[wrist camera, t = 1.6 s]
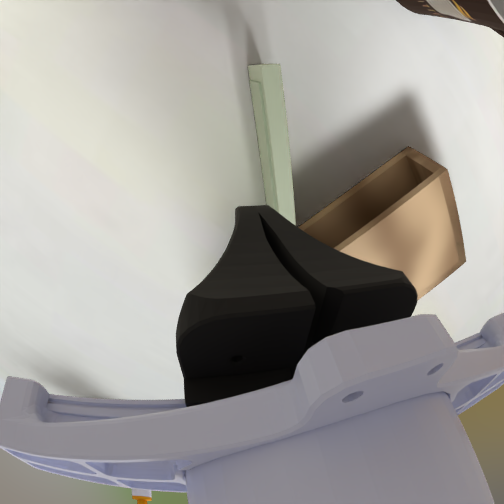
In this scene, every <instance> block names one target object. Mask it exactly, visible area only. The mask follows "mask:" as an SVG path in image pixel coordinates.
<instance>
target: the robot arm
mask: <svg viewBox="0 0 504 504" xmlns="http://www.w3.org/2000/svg"><path fill="white" fill-rule="evenodd" d="M417 297H418V294H417V291H416V289H415V287H414V286H413V285H412V283H411V282H410V280H409V279H408V278H407V276H406V275H405V274H404V273H403V271H399V270H395V269H391V268H387V267H383V266H379V265H375V264H372V263H369V262H366V261H363V260H360V259H357V258H355V257H352V256H350V255H347V254H345V253H343V252H340V251H338V250H336V249H334V248H332V247H330V246H328V245H326V244H324V243H322V242H320V241H318V240H317V239H315V238H313V237H312V236H310V235H309V234H307V233H306V232H304V231H303V230H301V229H300V228H298V227H297V226H295V225H294V224H293V223H291V222H290V221H289V220H287V219H286V218H285V217H283V216H282V215H281V214H279V213H278V212H277V211H276V210H274V209H273V208H272V207H270V206H269V205H263V206H240V207H237V208H236V209H235V227H234V231H233V234H232V236H231V239H230V241H229V244H228V246H227V248H226V250H225V252H224V253H223V255H222V257H221V258H220V260H219V261H218V263H217V264H216V266H215V267H214V268H213V270H212V271H211V272H210V273H209V274H208V275H207V276H206V277H205V279H204V280H203V281H202V282H201V283H200V284H199V285H197V286H196V287H195V288H194V289H193V290H192V291H190V292H189V293H188V294H187V295H186V298H185V300H184V303H183V306H182V309H181V312H180V315H179V319H178V324H177V330H176V349H177V356H178V360H179V363H180V367H181V370H182V374H183V377H184V393H185V399H172V400H120V399H98V398H84V397H72V396H62V395H54V394H49V393H48V392H47V390H46V389H45V388H44V387H43V386H42V385H41V384H40V383H38V382H36V381H34V380H31V379H25V378H18V377H12V376H8V377H7V380H6V383H5V387H4V390H3V394H2V398H1V402H0V448H2V449H3V450H5V451H6V452H8V453H10V454H11V455H13V456H14V457H16V458H18V459H20V460H21V461H23V462H25V463H27V464H29V465H30V466H32V467H34V468H36V469H39V470H44V471H47V472H51V473H55V474H59V475H63V476H67V477H71V478H76V479H81V480H85V481H90V482H95V483H100V484H106V485H112V486H118V487H125V488H133V489H142V490H152V491H167V492H187V495H188V504H495V503H494V500H493V498H492V495H491V492H490V489H489V486H488V484H487V481H486V479H485V476H484V473H483V471H482V468H481V466H480V464H479V461H478V459H477V456H476V454H475V452H474V449H473V447H472V445H471V443H470V441H469V438H468V436H467V434H466V432H465V430H464V428H463V425H462V423H461V421H460V419H459V417H458V415H459V414H460V413H462V412H464V411H465V410H467V409H468V408H470V407H471V406H473V405H474V404H476V403H477V402H479V401H480V400H482V399H483V398H485V397H486V396H487V395H489V394H490V393H492V392H493V391H495V390H496V389H498V388H499V387H500V386H501V385H502V384H503V383H504V313H501V314H499V315H497V316H494V317H492V318H491V319H489V320H488V321H487V322H486V323H485V325H484V326H483V328H482V329H481V331H480V333H477V334H475V335H473V336H470V337H468V338H465V339H463V340H460V341H458V342H455V343H454V341H453V340H452V338H451V337H450V335H449V334H448V332H447V331H446V329H445V328H444V326H443V325H442V323H441V322H440V320H439V319H438V317H437V316H436V315H432V314H420V315H416V316H412V317H411V315H412V313H413V311H414V309H415V306H416V304H417Z"/></svg>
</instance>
